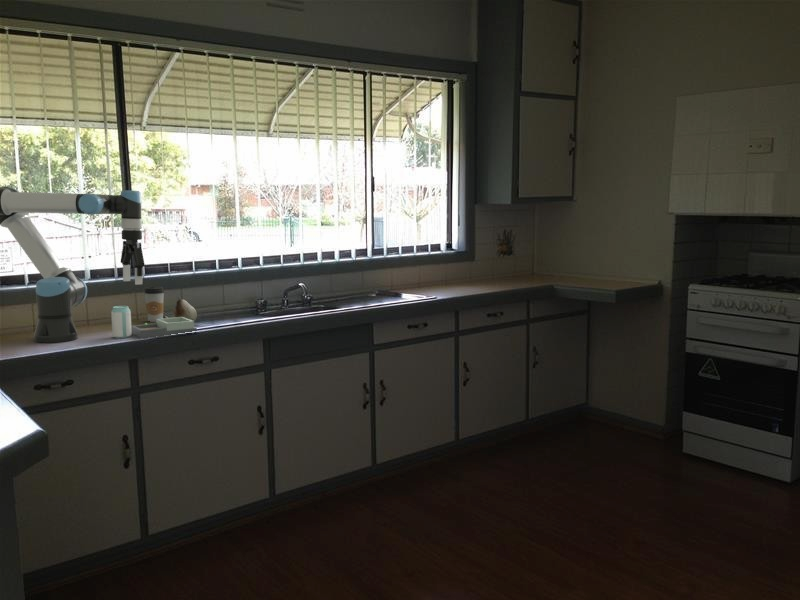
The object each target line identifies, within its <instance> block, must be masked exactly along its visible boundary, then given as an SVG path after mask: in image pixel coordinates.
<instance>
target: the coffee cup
mask: <svg viewBox="0 0 800 600" xmlns="http://www.w3.org/2000/svg"><path fill="white" fill-rule="evenodd" d="M164 290H165V289H164V288H163V286H149V287H148V286H147V287H145V289H144V296H145V297H144V298H145V306H146V313H147V314H146V317H147V321H148V322H149V321H150V322H149V323H156V319H164V308H165V307H164V297H165V296H164V294H165V291H164Z"/></svg>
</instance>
